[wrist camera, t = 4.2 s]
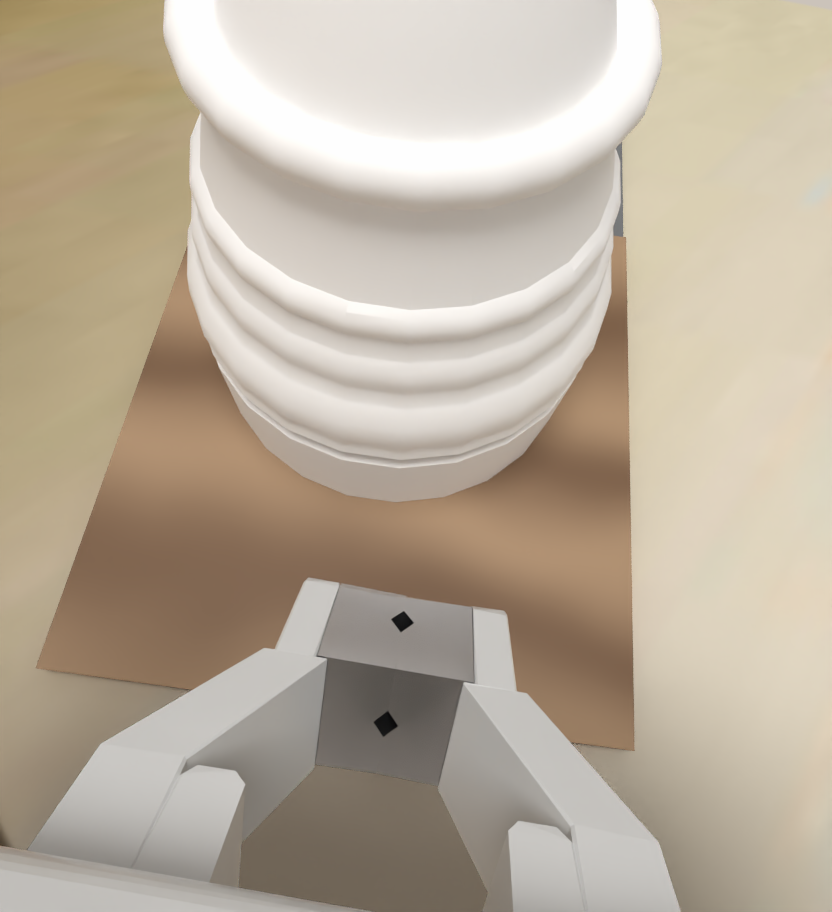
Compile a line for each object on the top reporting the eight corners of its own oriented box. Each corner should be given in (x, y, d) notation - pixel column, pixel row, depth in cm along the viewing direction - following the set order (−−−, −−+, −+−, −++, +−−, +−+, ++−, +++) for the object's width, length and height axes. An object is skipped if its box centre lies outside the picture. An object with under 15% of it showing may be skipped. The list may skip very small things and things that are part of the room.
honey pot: (399, 168, 26) (445, -788, 9) (628, 350, 23) (1304, -567, 6) (155, 334, 22) (-558, -840, 5) (394, 580, 19) (545, -284, 2)
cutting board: (626, 749, 18) (634, 750, 17) (46, 669, 18) (35, 668, 17) (620, 247, 26) (626, 237, 25) (215, 187, 25) (212, 176, 25)
